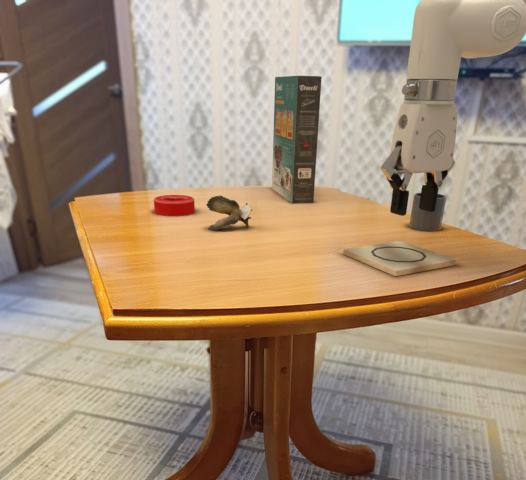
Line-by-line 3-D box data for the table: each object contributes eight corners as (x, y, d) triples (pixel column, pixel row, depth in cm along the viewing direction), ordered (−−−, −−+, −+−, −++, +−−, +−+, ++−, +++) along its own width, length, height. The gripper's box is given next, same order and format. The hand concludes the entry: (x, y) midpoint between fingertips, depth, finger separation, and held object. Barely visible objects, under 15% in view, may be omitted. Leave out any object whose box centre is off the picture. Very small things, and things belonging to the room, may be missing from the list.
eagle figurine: (241, 216, 115) (203, 210, 112) (252, 192, 110) (211, 185, 106) (246, 241, 111) (207, 236, 108) (257, 218, 106) (216, 212, 102)
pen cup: (424, 222, 118) (429, 191, 115) (447, 229, 113) (453, 197, 110) (402, 225, 115) (407, 193, 112) (424, 232, 110) (430, 199, 107)
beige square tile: (399, 245, 100) (400, 240, 100) (455, 265, 89) (456, 259, 89) (342, 254, 94) (343, 248, 93) (395, 276, 83) (396, 270, 83)
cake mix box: (313, 202, 137) (321, 76, 123) (291, 203, 136) (297, 75, 122) (290, 188, 156) (295, 77, 142) (271, 188, 155) (275, 76, 141)
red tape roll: (160, 217, 118) (159, 203, 116) (150, 208, 125) (149, 195, 124) (200, 214, 121) (199, 200, 120) (188, 206, 129) (187, 193, 128)
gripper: (405, 93, 72) (389, 222, 80) (487, 94, 79) (465, 211, 88) (370, 93, 77) (358, 212, 86) (450, 93, 85) (432, 203, 93)
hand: (412, 211), depth 86 cm, fingers open, 5 cm apart
